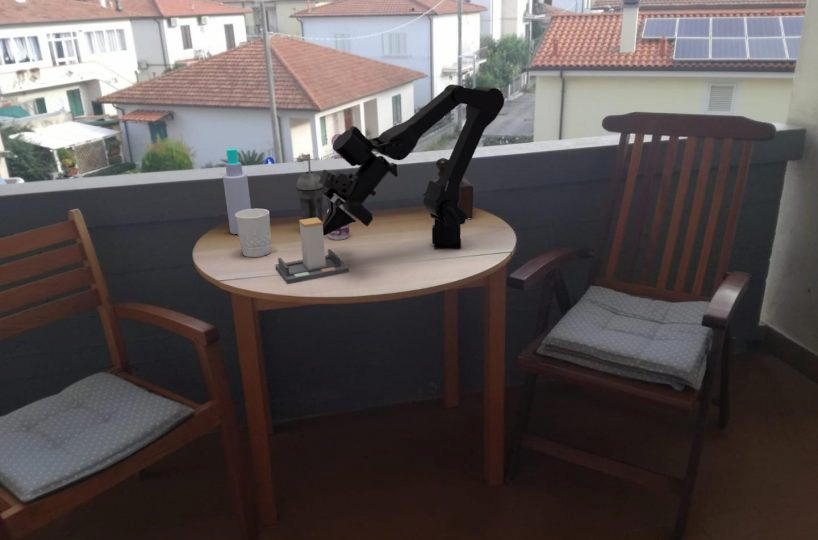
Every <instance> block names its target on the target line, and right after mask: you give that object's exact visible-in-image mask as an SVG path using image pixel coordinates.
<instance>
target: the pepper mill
mask: <svg viewBox="0 0 818 540" xmlns="http://www.w3.org/2000/svg"><path fill="white" fill-rule="evenodd" d="M448 161H449V158H445V157H441V158H439V159H437V160H436V162H435V168H436V169H437V170H438V173H437V176H438V179H439V178H441V176H442V174H443V172H444V170H445V167H446V165H447V163H448ZM438 179H431V180H430V181H433V182H436V181H437V180H438ZM473 202H474V186H473V185H472V184H471V183H470V182H469V181H468V179H467V178H466V177H463V179H462V182H461V184H460V200H459V204H458V208H459V209H460V210H461V211H463V212H464V213H465V214H466V215H467V217H466V219H468V218H472V219H473V209H474V208H473V206H474V203H473ZM468 220H469V219H468Z"/></svg>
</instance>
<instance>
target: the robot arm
mask: <svg viewBox="0 0 818 540" xmlns="http://www.w3.org/2000/svg"><path fill="white" fill-rule="evenodd" d="M461 104H462V105H463V104H464V105H466V107H465V122H464V125H463V127H462V129H461V131H460V133H459V136H458V137H457V141H456V142H455V145H454V147H453V149H452V152H451V154H450V156H449V158H448V160H449V161H448V163H447V165H446V167H445V170H444V172H443V174H442V176H441V177H439V178H438V180H437V181H436V182H433V181H431V180H429V181H428V185H427V189H426V191H425V192H424V193H423V194H422V196H423V202H422V203H423V207H424V209H425V210H426V211H427V212H428V213H429V215H430V217H431V219H434V224H433V225H432V227H431V243H432V245H433V249H435V250H437V249H438V250H457V249H458V250H460V249H462V239H461V225H464V224H466V217H467V215H466V214H465V213H464V212H463V211H461V210H460V209H459V208H458V204H459V200H460V184H461V182H462V179H463V178H465V176H466V175H465V174H466V172H467V170H468V168H469V166H470V163H471V161H472V159H473V157H474V154H475V153H476V150H477V148H478V146H479V143H480V140H481V139H482V136H483V133H484V132H485V130H486V128H487V127H488V126H489V125H490V124H491V123H493V122H494V121H495V120H496V119H497V117H498V115H499V114H500V113H501V111H502V109H503V107H504V106H505V105H504V104H505V97H504V94H503V92H502V91H501V90H500V89H499V88H497V87H490V86H484V85H479V86H476V87H474V88H468V87H465V86H463V85H460V84H448V85H447V86H446V87H445V88H444V89H443V90H442V91H441V92H440V93H439V94H437V95H436V96H435V97H434V98H433V99H432V100H430V101H429V102H428V103H427V104H426V105H424V106H423V107H422V108H420V109H419V110H418V111H417V112H416V113H415V114H414V115H412V116H411V117H410V118H408V119H407V120H405V121H404V122H401V123H399V124H395V125H393V126H391V127H390V128H388V129H386V130H385V131H383V132H382V133H380V135H378V136H376V137H372V138H369V139H368V137H366V136H365V135H364V134H363V133H362V131H361V130H360V129H359V128H358V127H356V126H354V125H351V126H350V128H349V129H348V130H345V131H344V132H342V134H340V135H338V136H337V138H336V139H335V141H334V142H333V144H332V150H333V151H334V152H335V153H337V154H338V156H340V158H342V159H343V160H344V161H345V162H347V163H348V164H349V165H350V166H351V167H355V166H357V167H358V166H359V167H358V168H357V169H356V170H355V172H354V173H352V172H350V173H347V174H346V173H344V172H340V171H337V172H336V173H335V172H332V171H330V170H328V169H323V170H322V173H321V176H320V177H321V178H320V181H319V183H320V184H323V186H324V187H323V188H322V190H321V192H322V193H323V196H325V197H326V201H327V204H328V205H327V206H328V209H329V211H328V210H327V211H328V213H327V212H326V217H325V219H324V221H323V235H324V237H325V236H326V235H329V233H331V232H333V231H335V230H337V229H339V228H341V227H343V226H345V225H348V224H349V225H350V224H352V223H356V222H357V221H356V219H357V220H358V221H360V222H361V224H362V225H364V226H366V227H369V225H370V224H371V222H373V220H374V219H373V217H374V216H373V213H372V212H371V211H369V210H368V209H367V208H366V207H365V206H364V203H365V202H366V201H367V199H369V197H370V196H372V197H374V196H376V194H377V192H376V191H375V190H376V188H377V187H378V186H379V184H381V182H382V181H383V180H384V178H385V177H386V176H387V175H388V174H389V175H391V176H393V177H395V178H397V177H398V175H399V174H398V169H397V168H398V164H397V163H394V162H389V160H387V159H386V157H387V158H389V159H391V160H394V161H404V159H406V158H407V157H408V156H409V155H410V153H411V152H412V151H413V150H414V149H415V148H416V146H417V145H418V142H419V140H420V139H421V137H422V136H423V135H424V134H425V133H427V132H428V131H429V130H430V129H431V128H433V127H434V126H435V125H436V124H438V123H439V122H440V121H441V120H442V119H443V118H445V117H446V116H447V115H448V114H450V113H451V112H452V111H453V110H455V108H456V107H458V106H459V105H461ZM374 152H375V153H378V154H381V155H376V154H375V153H374ZM355 218H356V219H355Z"/></svg>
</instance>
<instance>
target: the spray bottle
mask: <svg viewBox="0 0 818 540" xmlns="http://www.w3.org/2000/svg"><path fill="white" fill-rule="evenodd" d="M226 156H227V162H226V163H225V170H226V171H225V172H226V173H225V174H223V175H222V179H223V181H222V182H223V187H224V188H223V189H224V194H225V203H226V208H227V217H228V223H229V224H228V225H229V232H230V233H231V234H232V235H235V234H237V235H236V236H239V234H238V228H237V223H236V217H235V214H236V213H237V212H239V211H242V210H247V209H252V205H251V198H250V189H249V182H248V181H249V179H248V174H247V173H246V172H244V171H243V165H242V162H240V161H239V157H238V156H239V155H238V149H237V148H228V149H226Z"/></svg>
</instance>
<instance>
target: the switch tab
mask: <svg viewBox="0 0 818 540" xmlns="http://www.w3.org/2000/svg"><path fill="white" fill-rule="evenodd" d="M298 223H299V232H300V243H301V254H302V260H303V264H304V265H305V266H306V267H307V268H308V269H313V268H318V267H324V266H326V261H325V256H326V252H325V251H326V250H325V248H326V247H325V238H324V237H325V236H324V235H323V223H324V221H323V222H322V221H321V220H320V219H318V218H317V217H316V218H309V219H303V218H302V219H299V220H298Z"/></svg>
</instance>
